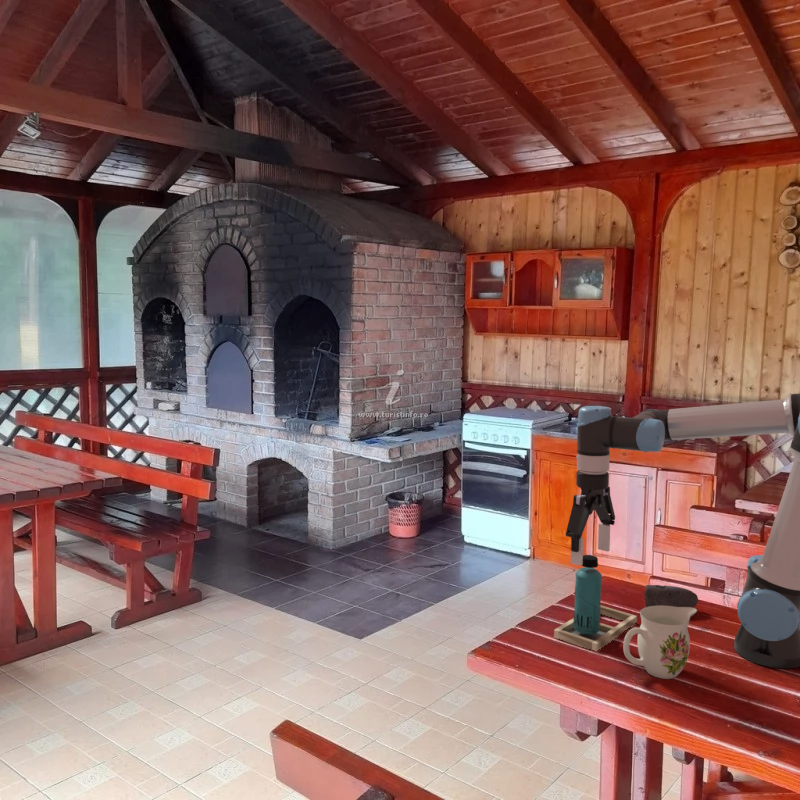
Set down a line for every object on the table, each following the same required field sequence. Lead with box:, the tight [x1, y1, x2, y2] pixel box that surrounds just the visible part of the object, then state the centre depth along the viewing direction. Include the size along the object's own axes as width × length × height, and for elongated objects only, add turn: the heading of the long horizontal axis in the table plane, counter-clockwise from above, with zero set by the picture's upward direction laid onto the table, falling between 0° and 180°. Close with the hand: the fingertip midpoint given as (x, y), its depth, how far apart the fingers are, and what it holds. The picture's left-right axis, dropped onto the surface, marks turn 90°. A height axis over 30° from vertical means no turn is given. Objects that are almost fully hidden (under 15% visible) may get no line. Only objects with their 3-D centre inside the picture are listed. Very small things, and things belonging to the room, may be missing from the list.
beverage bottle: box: [573, 554, 603, 634], centre depth 182 cm, size 6×7×20 cm
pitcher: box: [622, 606, 698, 680], centre depth 166 cm, size 11×18×14 cm, turn 106°
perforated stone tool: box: [643, 584, 699, 608], centre depth 200 cm, size 15×5×7 cm, turn 89°
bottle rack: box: [553, 604, 638, 651], centre depth 188 cm, size 22×11×2 cm, turn 138°
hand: (590, 557), depth 181 cm, fingers open, 13 cm apart
